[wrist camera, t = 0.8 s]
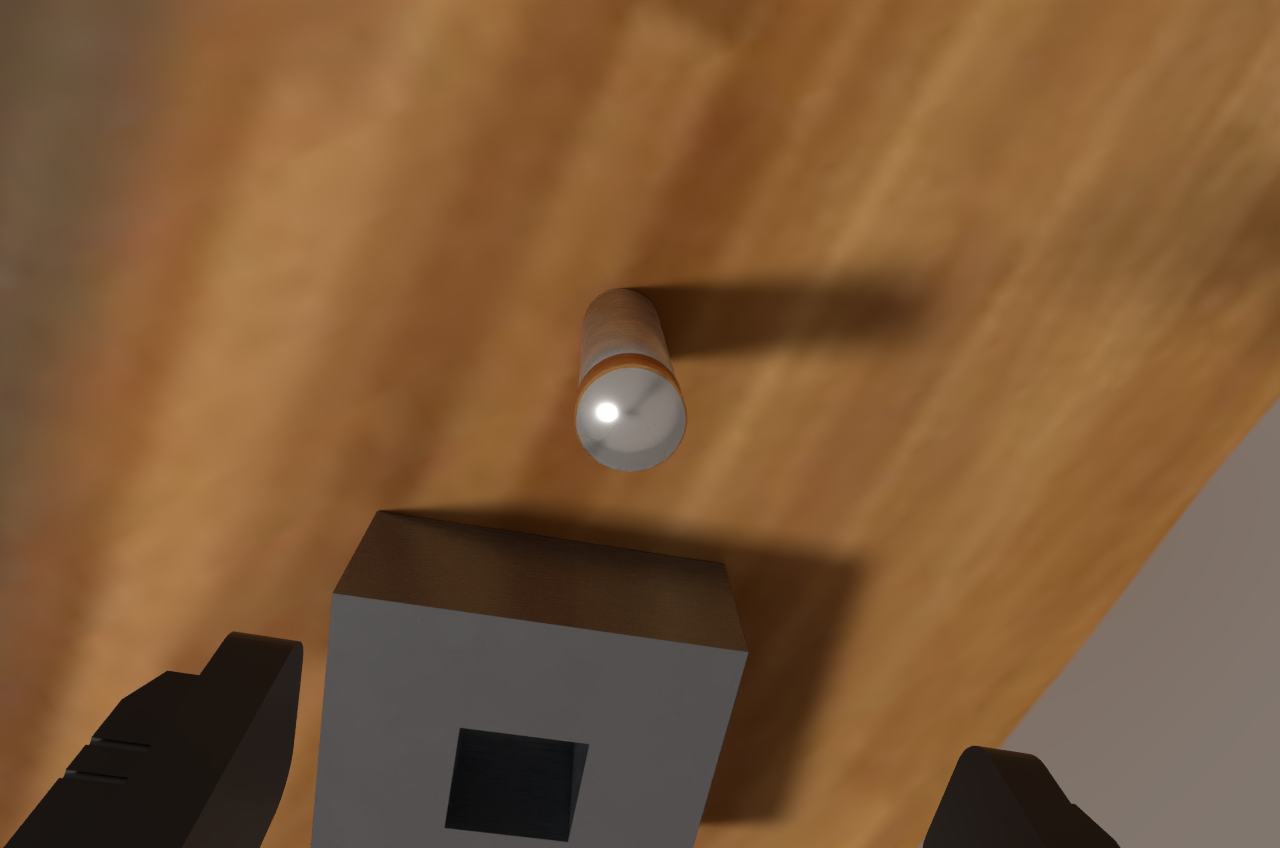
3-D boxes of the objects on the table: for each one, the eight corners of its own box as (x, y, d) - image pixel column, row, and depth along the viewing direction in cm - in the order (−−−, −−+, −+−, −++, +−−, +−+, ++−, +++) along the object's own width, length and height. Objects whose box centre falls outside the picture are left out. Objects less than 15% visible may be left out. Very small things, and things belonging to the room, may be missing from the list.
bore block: (724, 564, 35) (748, 652, 29) (655, 825, 40) (665, 944, 34) (377, 510, 33) (332, 593, 28) (348, 789, 38) (305, 908, 32)
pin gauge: (668, 295, 31) (698, 378, 22) (652, 370, 32) (674, 481, 22) (589, 280, 31) (584, 358, 21) (575, 356, 32) (565, 463, 22)
